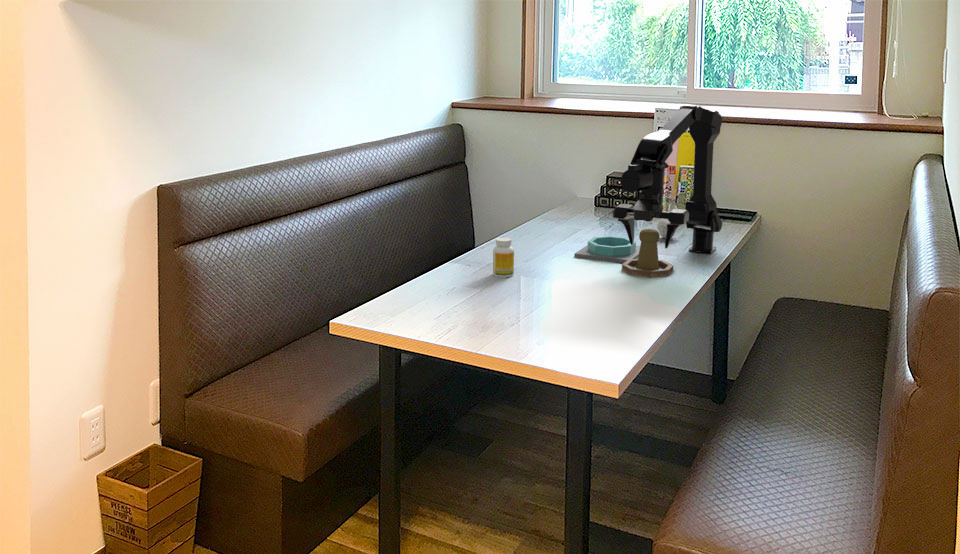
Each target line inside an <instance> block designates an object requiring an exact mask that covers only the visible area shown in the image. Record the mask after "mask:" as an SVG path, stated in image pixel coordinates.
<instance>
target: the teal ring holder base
mask: <svg viewBox="0 0 960 554" xmlns="http://www.w3.org/2000/svg"><path fill="white" fill-rule="evenodd" d="M639 251H640V245H637V243H636V241H635V240H634V242H633V244H632V245H631V244H630V240H629V237H624V236H623V237H622V236H615V235H605V236H604V235H602V236H593V237H592V238H590V239H589V240H587V245H585V246H584V247H583V248H581V249H579V250H578V251H576V252H575V253H574V255H573V256H574V258H578V259H579V258H581V259H588V260H597V261H605V262H606V261H607V262H610V263H612V262H613V263H620V264H623V263H624V262H626V261H627V260H630V259H638V256H639Z"/></svg>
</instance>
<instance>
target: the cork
mask: <svg viewBox="0 0 960 554" xmlns="http://www.w3.org/2000/svg"><path fill="white" fill-rule="evenodd" d="M638 235H639V237H638V238H639V240H640V245H639V246H640V251H639V256H638V258H637V259H638V261H637V266H635V267H636V268H635V269H643V270H660V266H659V261H658V260H659V251H658V242H659V240H660V236H661V235H660V233H659V230H658V229H655V228H654V229H653V228H645V229H642V230H641V231H640V232H639V234H638Z"/></svg>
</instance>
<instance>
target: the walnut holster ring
mask: <svg viewBox="0 0 960 554" xmlns="http://www.w3.org/2000/svg"><path fill="white" fill-rule="evenodd" d="M637 261H638V258H637V259H630V260H627V261H626V262H624V263H621V270H622V271H623V272H625V273H626V274H628V275H630V276H636V277H645V278H658V277H660V278H661V277H668V276H669V275H670V274H671V273H673V272H674V267H675V266H674V264H673V263H670V262H668V261H666V260H663V259H658V261H659V270H643V269H636V268H635V267H637ZM660 267H661V269H660Z"/></svg>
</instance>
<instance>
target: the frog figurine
mask: <svg viewBox="0 0 960 554" xmlns="http://www.w3.org/2000/svg"><path fill="white" fill-rule="evenodd" d="M657 222H658V223H657V225H656V228H657V229H656V230H657V231H658V232H659V235H660V236H661V237H662V238H663V239H666V234H667V224H668V223H670V222H669V221H668V219H661V218H659V220H658V221H657ZM678 228H679V227H677V229H676V230H675V232H674V234H673V237H674V236H675V235H676V232H677V230H678Z"/></svg>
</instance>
